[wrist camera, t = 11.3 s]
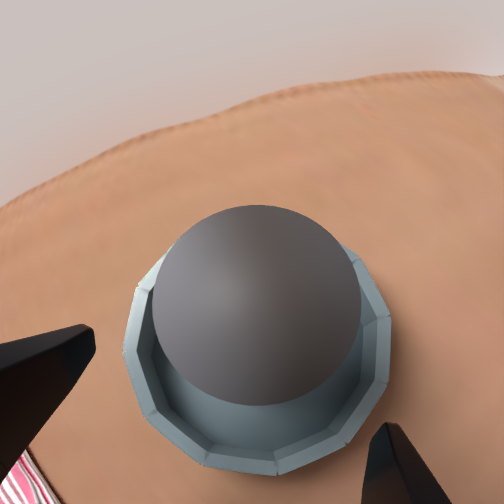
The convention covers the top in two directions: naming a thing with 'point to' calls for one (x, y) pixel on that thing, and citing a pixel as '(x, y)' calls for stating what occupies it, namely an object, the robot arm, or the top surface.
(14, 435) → the robot arm
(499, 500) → the top surface
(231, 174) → the top surface
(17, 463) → the dish towel
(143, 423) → the top surface
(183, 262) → the walnut jar
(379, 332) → the bowl
